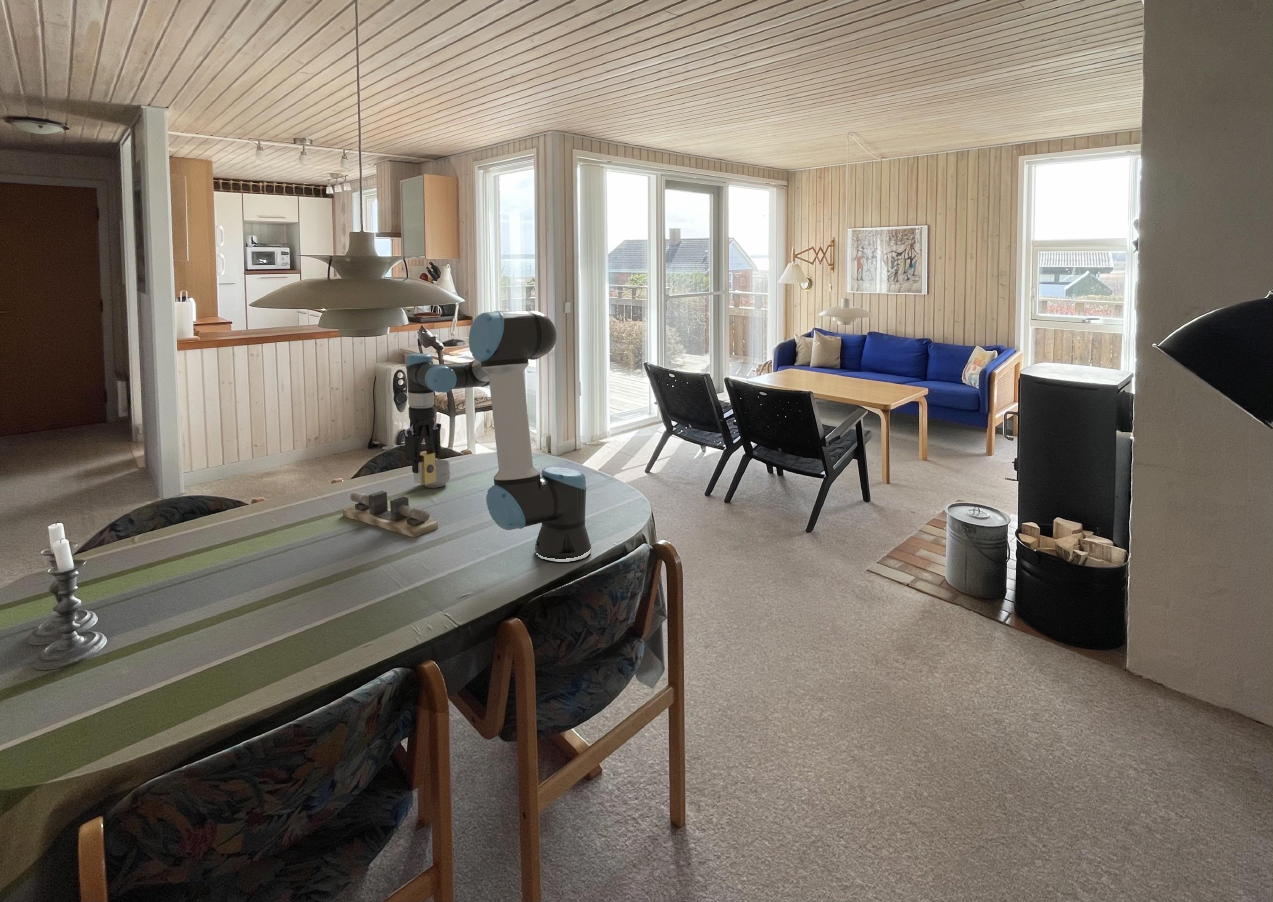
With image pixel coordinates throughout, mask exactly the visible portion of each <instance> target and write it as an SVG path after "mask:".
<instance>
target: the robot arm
mask: <svg viewBox="0 0 1273 902" xmlns="http://www.w3.org/2000/svg"><path fill="white" fill-rule="evenodd" d="M556 342H557V330H556V327H555V324H554V322H553V321H552V319H550V318H549V316H547V315H545V314H544V313H542V312H540V311H536V310H522V311H521V310H497V311H496V310H494V311H486V312H481V313H479V314H478V315H477V316H476V317H475V318H474V320H473V322H472V324H471V326H470V329H469V334H468V349H469V351H470V353H471V355H472V357H473V360H472V361H467V362H465V361H464V362H454V363H453V362H452V363H441V364H440V363H439V364H438V363H434V361H433V357H432V354H429V353H409V354H408V355H406V360H405V362H406V363H405V365H406V366H405V370H406V382H407V383H406V387H407V404H408V406H409V407H408V408H407V410H408V419H409V421H410V423H409V427H407V429H403V430H402V435H403V437H404V449H405V450H404V451H405V461H406V462H409V463H411V470H412V471H411V472H412V474H413V483H416V484H419V485H423V484H422V464H421V462H419V459H420V452H422V442H423V441H424V444H425V448H426V451H427V452H433V453H435V464H436V459H439V456H440V455H441V453H442V452H441V451H442V450H441V449H442V447H441V429H442V423H439V422H435V421H434V419H435V418H436V415H435V414H436V413H435V406H434V404H435V392H436V393H441V394H444V393H449V392H450V391H453V390H459V389H460V390H461V389H469V388H485V387H488V386H489V392H490V401H491V402H490V403H491V410H492V418H493V419H492V421H493V428H494V438H495V448H496V456H497V465H498V466H497V467H498V471H497V472H496V473H495V475H494V476H493V485H492V486H490V487H489V488H488V489H487V492H486V496H485V497H486V499H485V500H486V506H487V510H488V513H489V515H490V516H491V519H492V520H493V521H494V523H495V525H497V526H498V527H499V528H501V529H502V530H506V531H512V530H517V529H519V530H521V529H524V528H525V527H531V526H534V525H538V524H541V527H540V529H539V533H538V535H537V538H536V540H535V544H534V552H535V551H536V553H538V554H539V555H541V556H543V557H547V558H555V559H566V558H574V557H578V556H581V555H583V554H584V553H586V552H588V551H589V550H590V549H591V550H592V543H591V541H590V537H589V533H588V531H587V530H588V529H587V526H586V503H587V501H586V499H587V496H586V495H587V489H588V488H587V485H586V484H587V482H586V476H585V475H584V473H583V472H581V471H579V470H576V469H572V468H569V467H568V468H567V467H558V466H551V467H545V468H542V470H541V472H540V471H539V470H538V469H536V468H535V467H534V464H533V463H534V461H533V454H532V451H533V450H532V443H531V433H530V432H531V431H530V423H529V414H528V405H527V396H526V395H527V394H526V385H525V375H524V374H525V373H524V371H525V370H526V369H527V367H528V366H529V364H530V363H529V360H532V361H533V360H534V361H535V360H538V359H540V358H542V357H544V356H545V355H547V354H549V353H550V352H551V351H552V350H553V348H554V347H555V345H556Z"/></svg>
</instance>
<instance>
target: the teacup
mask: <svg viewBox="0 0 1273 902" xmlns="http://www.w3.org/2000/svg"><path fill="white" fill-rule="evenodd" d="M450 463H451V462H450V461H449V460H446V459H441V458H437V459H436V482H433V483H430V484H426V485H424V484H422V486H424V487H426V488H430V489H432V488H433V489H435V488H441V487H443V486H445V485H446V484H447V483H448V482H449V481H450V479H451V466H450V465H451V464H450Z"/></svg>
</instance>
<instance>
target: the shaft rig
mask: <svg viewBox="0 0 1273 902" xmlns="http://www.w3.org/2000/svg"><path fill="white" fill-rule="evenodd" d="M349 498H350V500H351V502H353V503H354V502H355V503H356V504H355V503H354V505H353V506H350V507H348V508H344V509H342V516H343V517H345V518H349V519H351V520H354V519H355V520H354V521H358V522H361V521H362V522H361V523H365V524H367V525H368V524H369V525H370V526H371V525H372V526H375V527H378V528H381V529H384V530H385V529H386V530H388V531H391V532H395V533H399V534H402V535H404V536H408V537H411V538H418V537H420V536H421V535H425V534H427V533H430V532H432V531H435V530H438V529H439V523H438V521H436V520H432V519H430V515H431V514H430V512H429V511H428V510H425V509H422V508H417V507H413V506H410V504H409V501H410V500H409V497H407V496H400V497H398V498H394V499H390V500H389V505H390V506H388V491H385V490H380V491H377V492H373V493H370V494H366V493H362V492H358V491H352V493H351V494H350V496H349Z"/></svg>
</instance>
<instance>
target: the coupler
mask: <svg viewBox="0 0 1273 902" xmlns="http://www.w3.org/2000/svg"><path fill="white" fill-rule="evenodd" d="M419 462H421V464H422V484H421V485H423V484H424V485H423V486H425V485H426V484H430V483H433V482H436V464H435V453H433V452H427V450H423V451H422V450H421V452H420V459H419Z"/></svg>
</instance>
